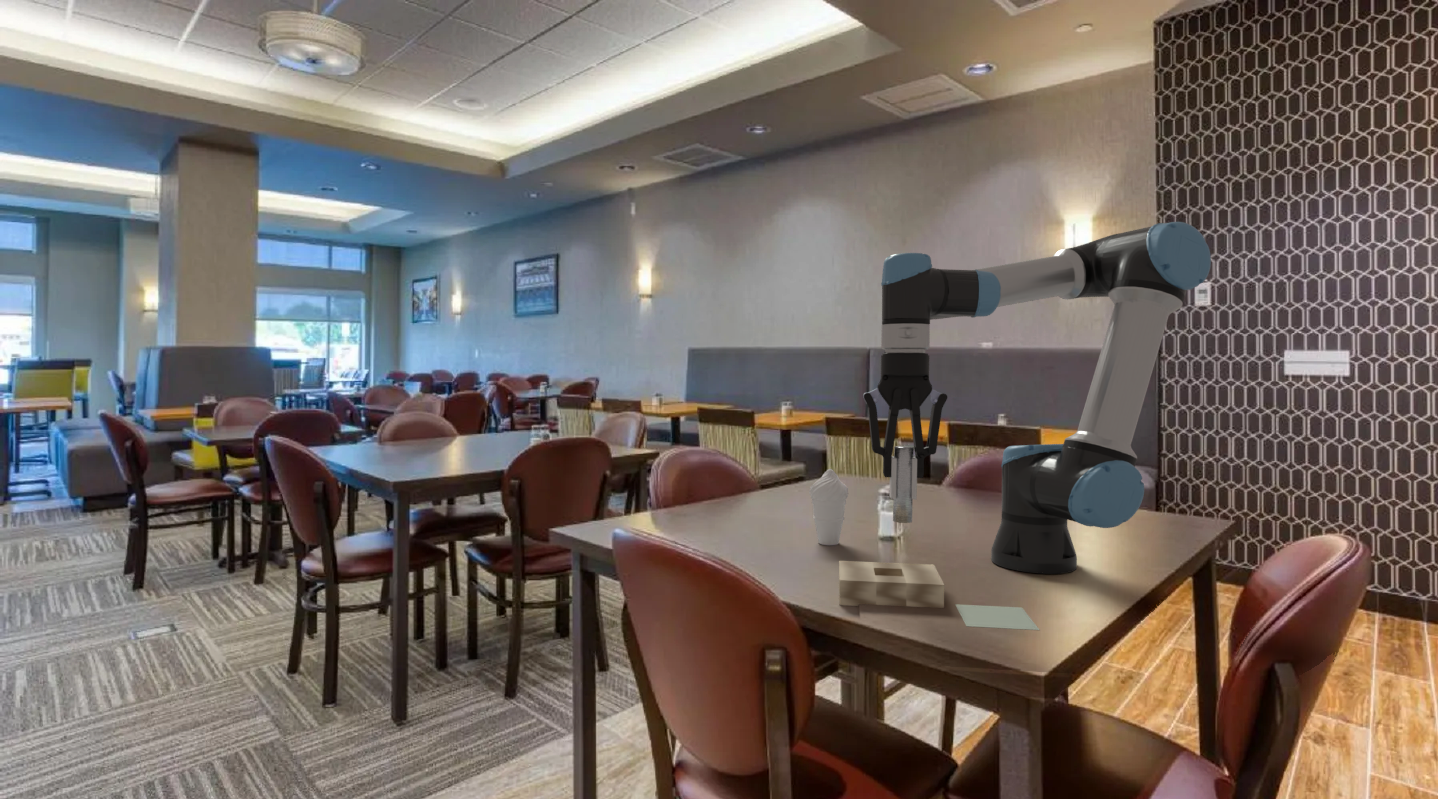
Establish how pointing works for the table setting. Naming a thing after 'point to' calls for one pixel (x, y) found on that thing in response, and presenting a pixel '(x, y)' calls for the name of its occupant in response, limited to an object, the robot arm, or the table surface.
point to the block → (890, 584)
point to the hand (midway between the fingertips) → (902, 497)
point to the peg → (903, 485)
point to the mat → (996, 617)
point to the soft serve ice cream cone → (828, 507)
